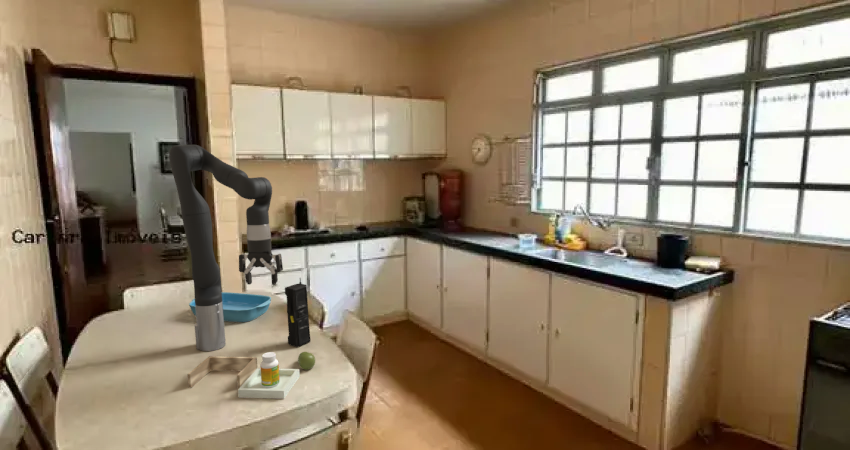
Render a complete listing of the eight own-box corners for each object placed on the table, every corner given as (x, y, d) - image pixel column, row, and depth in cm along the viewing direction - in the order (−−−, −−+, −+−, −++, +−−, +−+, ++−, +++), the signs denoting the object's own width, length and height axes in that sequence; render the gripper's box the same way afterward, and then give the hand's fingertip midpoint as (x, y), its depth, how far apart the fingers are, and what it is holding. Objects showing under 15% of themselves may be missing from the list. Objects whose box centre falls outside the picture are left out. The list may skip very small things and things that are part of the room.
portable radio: (296, 349, 174) (293, 284, 170) (285, 345, 177) (281, 281, 174) (312, 341, 181) (308, 279, 177) (300, 338, 184) (297, 276, 180)
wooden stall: (188, 387, 146) (187, 374, 145) (209, 368, 159) (208, 356, 158) (240, 388, 145) (239, 375, 144) (257, 369, 158) (256, 357, 157)
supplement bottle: (274, 389, 143) (272, 359, 142) (258, 387, 144) (256, 357, 143) (282, 380, 148) (281, 351, 147) (267, 379, 150) (265, 350, 148)
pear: (299, 357, 155) (294, 350, 164) (300, 373, 155) (295, 365, 164) (316, 353, 157) (310, 347, 166) (317, 369, 157) (312, 362, 166)
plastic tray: (238, 397, 140) (237, 389, 140) (257, 375, 154) (257, 368, 153) (284, 398, 139) (283, 390, 139) (299, 376, 153) (299, 369, 153)
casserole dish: (281, 309, 219) (280, 294, 218) (254, 326, 198) (252, 310, 197) (212, 304, 227) (211, 290, 226) (179, 320, 206) (177, 305, 205)
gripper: (233, 239, 154) (236, 287, 156) (275, 239, 153) (278, 287, 155) (243, 235, 161) (246, 280, 164) (283, 235, 160) (286, 281, 163)
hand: (261, 284), depth 159 cm, fingers open, 8 cm apart
